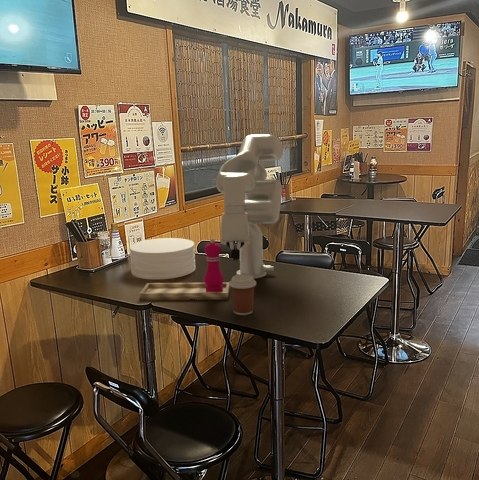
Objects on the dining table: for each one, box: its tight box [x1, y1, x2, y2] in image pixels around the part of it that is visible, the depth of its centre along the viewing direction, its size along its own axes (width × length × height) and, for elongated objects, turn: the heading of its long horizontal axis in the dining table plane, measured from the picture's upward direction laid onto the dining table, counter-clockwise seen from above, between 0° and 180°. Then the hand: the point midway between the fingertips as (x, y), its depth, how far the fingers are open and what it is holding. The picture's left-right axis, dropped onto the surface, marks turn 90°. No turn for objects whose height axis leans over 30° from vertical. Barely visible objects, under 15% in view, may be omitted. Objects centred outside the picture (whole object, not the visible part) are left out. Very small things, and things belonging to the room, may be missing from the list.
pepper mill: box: [203, 238, 225, 292], centre depth 176 cm, size 7×7×20 cm
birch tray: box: [138, 281, 231, 301], centre depth 179 cm, size 32×12×2 cm, turn 88°
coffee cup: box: [229, 274, 257, 316], centre depth 159 cm, size 9×9×12 cm
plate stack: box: [129, 237, 196, 280], centre depth 211 cm, size 28×28×12 cm
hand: (235, 259), depth 175 cm, fingers closed
